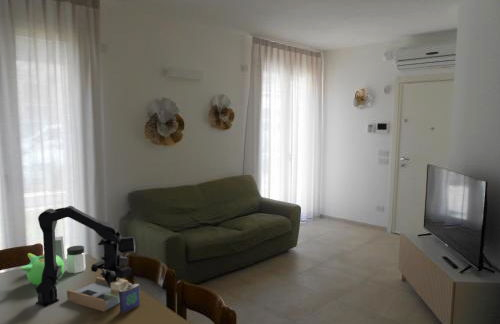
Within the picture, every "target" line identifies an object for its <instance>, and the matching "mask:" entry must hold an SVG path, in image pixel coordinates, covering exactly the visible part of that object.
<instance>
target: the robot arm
mask: <svg viewBox="0 0 500 324" xmlns="http://www.w3.org/2000/svg"><path fill="white" fill-rule="evenodd" d="M65 218H70V219H71V220H73V221H75V222H77V223H79V224H81V225H83V226H85V227H87V228H89V229H91V230H93V231H94V232H95V233H96V234H97V235H98V236H99V237H100V238H101V240H99V242H98V243H97V245H98V246H102V250H103V255H102V256H101V260H99V261H97V262H95V263H93V264H92V265H91V267H90V269H91V272H94V273H96V272H98V270H101V273H100V275H101V276H102V278H104V279H105V280H106V282H107V284H108V285H109V287H110V288H111V282H113V281H115V280H118V279H123V278H125V277H128V276H130V275H132V267H129V266H128V262H129V257H125V256H121V255H120V253H121V254H129V253H135V252H136V242H135V236H128V237H127V236H126V237H125V236H124V237H123V235H122V234H121V233H120V232H119V231H118V228H117V225H115V224H113V223H111V222H107V221H102V220H99V219H97V218H95V217H93V216H91V215H89V214H87V213H85V212H84V211H81V210H80V209H77V208H76V207H74V206H73V205H68V206H66V207H59V208H56V209H54V208H47V209H45V210H44V211H43V212H41V213H40V214H39V215H38V217H37V221H38V224H39V228H40V229H41V231H42V237H43V238H42V239H43V240H42V241H43V254H44V263H45V266H44V270H43V273H42V279H41V283H40V284H39V285H38V286H37V285H36V287H35V292H36V293H37V301H36V302H35V305H38V306H40V307H45V308H46V307H48V306H50V305H52V304H55V303H57V302H59V301H60V299H59V298H58V289H57V288H56V287H57V286H56V284H57V283H58V282H59V280H60V279H61V278H60V276H61V275H62V272H61V268H62V265H60V266H58V265H57V262H56V245H55V237H56V227H57V224H58V221H59V220H63V219H65ZM118 251H119V252H118ZM102 260H103V261H102ZM124 265H125V266H124ZM121 266H122V267H121ZM62 276H63V275H62ZM59 278H60V279H59ZM117 278H118V279H117Z"/></svg>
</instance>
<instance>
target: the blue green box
mask: <svg viewBox="0 0 500 324" xmlns="http://www.w3.org/2000/svg"><path fill="white" fill-rule="evenodd" d="M140 295H141V294H140V284H139V283H134V284H133V283H130V282H128V286H127V288H125V289H123V288H122V289H121V290H120V291H119V299H120V303H119V309H120V311H119V312H120V314H125V313H128V312H131V311H133V310H134V309H137V308H138V307H140V306H141V299H140V298H141V297H140Z"/></svg>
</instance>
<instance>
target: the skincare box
mask: <svg viewBox="0 0 500 324" xmlns="http://www.w3.org/2000/svg"><path fill="white" fill-rule="evenodd" d="M55 245H56V255H57V256H59V257H60V258H61V259H62V260H63V262H64V266H65V265H66V256H65V246H64V237H63V236H55Z"/></svg>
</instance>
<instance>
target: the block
mask: <svg viewBox="0 0 500 324" xmlns="http://www.w3.org/2000/svg"><path fill="white" fill-rule="evenodd" d="M128 283H129V281H128V280H127V279H123V278H118V279H116V280H115V281H113V282H111V294H113V295H116V296H119V291H120V290H121V289H122V288H123V289H125V288H127V286H128V285H129V284H128Z"/></svg>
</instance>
